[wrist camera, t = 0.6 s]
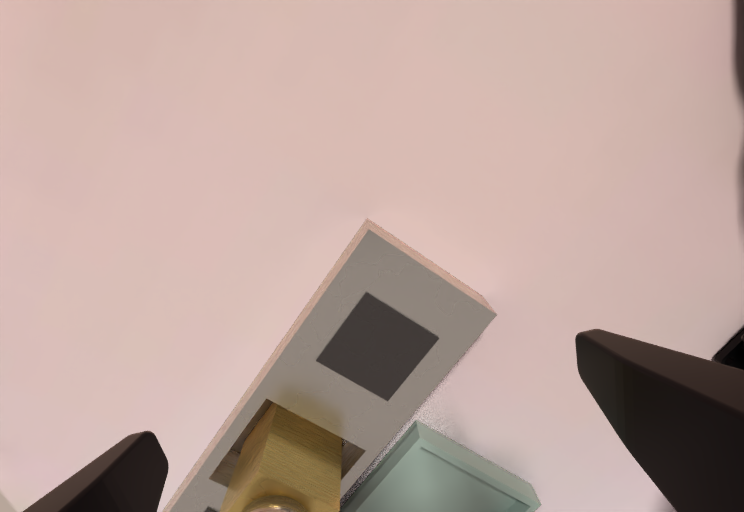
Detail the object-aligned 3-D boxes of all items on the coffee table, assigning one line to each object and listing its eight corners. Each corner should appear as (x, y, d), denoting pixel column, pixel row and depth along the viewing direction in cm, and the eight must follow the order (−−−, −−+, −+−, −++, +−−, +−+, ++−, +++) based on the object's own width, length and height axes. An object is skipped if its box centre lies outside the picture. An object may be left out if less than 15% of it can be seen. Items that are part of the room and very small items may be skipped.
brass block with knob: (343, 422, 25) (338, 535, 18) (305, 470, 26) (287, 593, 19) (281, 390, 24) (251, 494, 17) (244, 440, 25) (202, 559, 18)
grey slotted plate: (481, 295, 22) (497, 315, 20) (268, 554, 28) (259, 595, 25) (367, 218, 21) (369, 229, 18) (163, 509, 26) (143, 548, 23)
